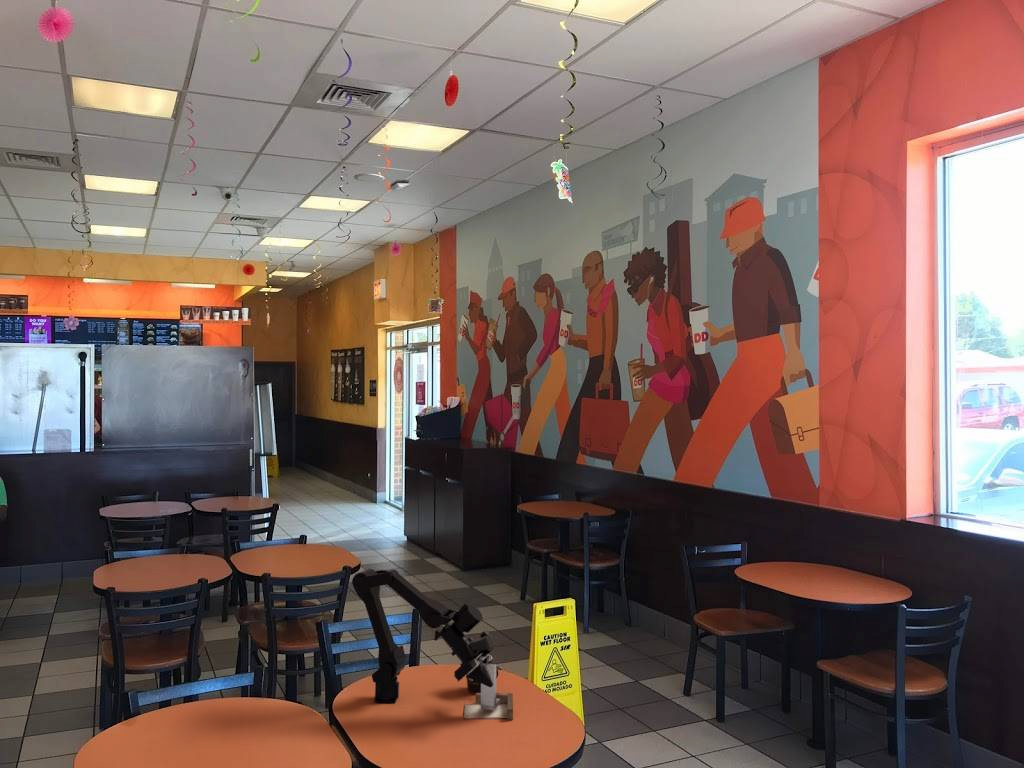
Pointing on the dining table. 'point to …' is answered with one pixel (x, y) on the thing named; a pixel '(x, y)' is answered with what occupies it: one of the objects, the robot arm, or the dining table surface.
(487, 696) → the bracket
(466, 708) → the corner fixture
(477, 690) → the coffee mug
